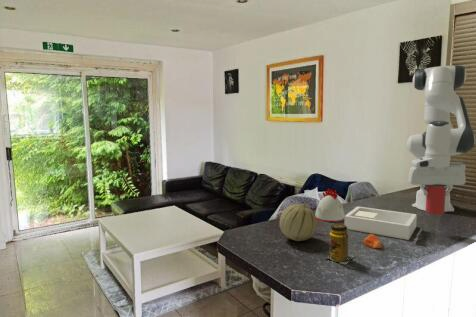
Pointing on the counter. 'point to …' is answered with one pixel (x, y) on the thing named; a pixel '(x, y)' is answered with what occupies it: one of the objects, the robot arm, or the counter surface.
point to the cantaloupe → (298, 222)
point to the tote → (383, 223)
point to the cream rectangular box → (367, 215)
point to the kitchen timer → (330, 208)
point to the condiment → (339, 244)
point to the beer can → (435, 199)
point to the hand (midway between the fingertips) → (435, 195)
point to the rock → (372, 241)
